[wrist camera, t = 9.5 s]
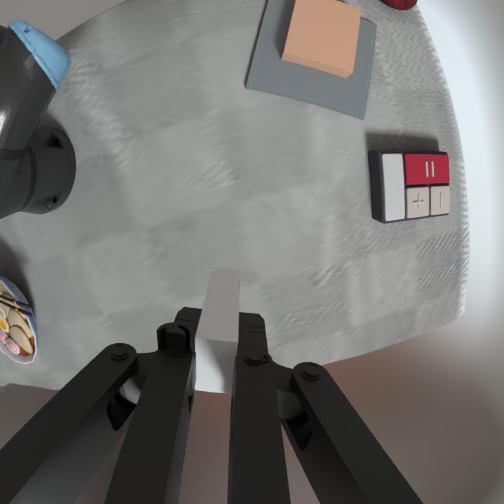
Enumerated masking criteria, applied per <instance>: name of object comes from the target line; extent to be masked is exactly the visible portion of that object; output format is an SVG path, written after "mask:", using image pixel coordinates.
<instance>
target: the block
mask: <svg viewBox="0 0 504 504" xmlns="http://www.w3.org/2000/svg"><path fill="white" fill-rule="evenodd" d="M360 16H361V9H359V8H356V7H354V6H351V5H348V4H345V3H342V2H340V1H337V0H295V2H294V6H293V10H292V15H291V19H290V23H289V27H288V32H287V36H286V40H285V44H284V49H283V53H282V57H281V60H285V61H289V62H293V63H297V64H301V65H304V66H308V67H312V68H315V69H318V70H322V71H325V72H328V73H331V74H334V75H337V76H340V77H343V78H347V77H348V76H350V75H351V74H352V73H353V68H354V62H355V55H356V48H357V41H358V33H359V25H360Z"/></svg>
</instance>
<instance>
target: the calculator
mask: <svg viewBox="0 0 504 504" xmlns="http://www.w3.org/2000/svg"><path fill="white" fill-rule="evenodd" d="M368 159H369V171H370V184H371V203H372V218H373V219H374V220H377V221H379V222H381V223H383V224H385V223H392V222H400V221H407V220H414V219H421V218H429V217H436V216H443V215H448V214H449V208H450V187H449V159H448V154H447V152H436V151H369V152H368Z"/></svg>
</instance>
